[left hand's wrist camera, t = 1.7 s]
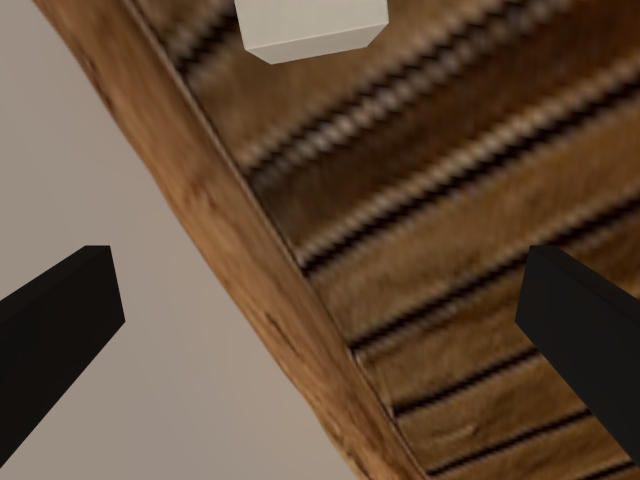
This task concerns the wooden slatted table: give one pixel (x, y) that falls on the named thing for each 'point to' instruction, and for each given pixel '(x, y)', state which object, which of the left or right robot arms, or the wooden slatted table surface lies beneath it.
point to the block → (308, 26)
